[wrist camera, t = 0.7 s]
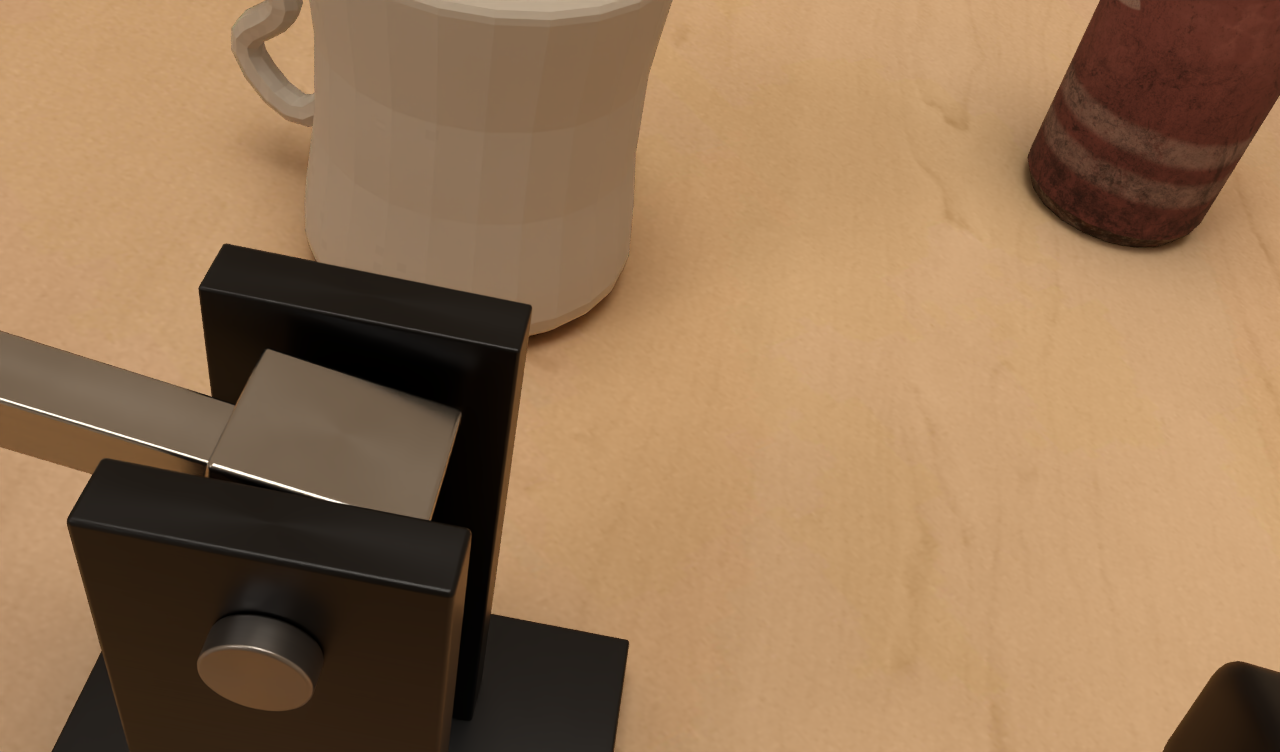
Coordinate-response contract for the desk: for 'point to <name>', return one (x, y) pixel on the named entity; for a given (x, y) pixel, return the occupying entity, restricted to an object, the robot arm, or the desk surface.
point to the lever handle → (233, 426)
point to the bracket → (331, 557)
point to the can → (1156, 115)
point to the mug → (469, 139)
